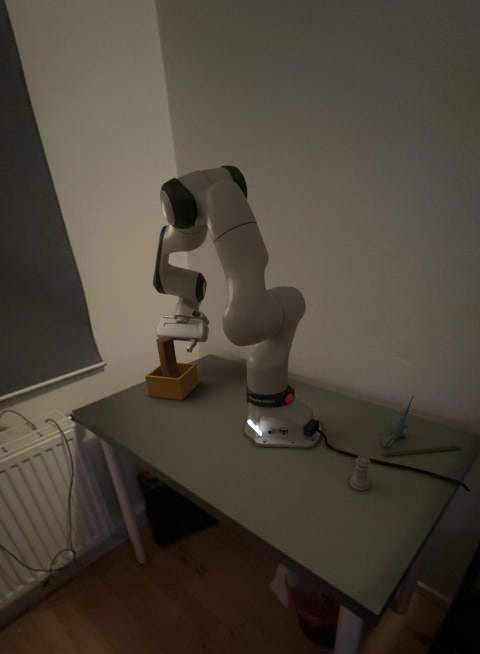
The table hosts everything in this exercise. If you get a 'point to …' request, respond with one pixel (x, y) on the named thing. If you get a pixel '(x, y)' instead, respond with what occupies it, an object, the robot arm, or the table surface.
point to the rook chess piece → (361, 474)
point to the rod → (421, 452)
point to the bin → (172, 382)
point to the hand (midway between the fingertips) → (177, 350)
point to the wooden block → (167, 357)
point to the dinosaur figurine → (397, 429)
